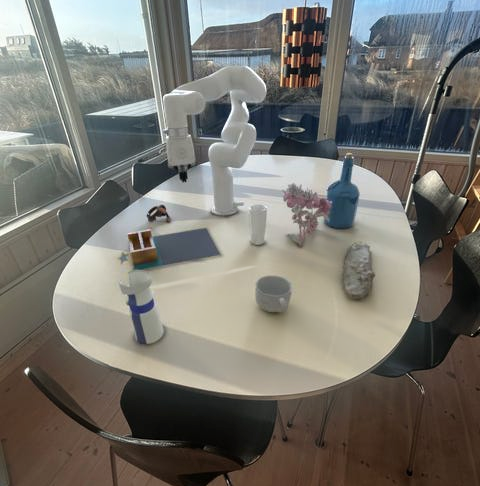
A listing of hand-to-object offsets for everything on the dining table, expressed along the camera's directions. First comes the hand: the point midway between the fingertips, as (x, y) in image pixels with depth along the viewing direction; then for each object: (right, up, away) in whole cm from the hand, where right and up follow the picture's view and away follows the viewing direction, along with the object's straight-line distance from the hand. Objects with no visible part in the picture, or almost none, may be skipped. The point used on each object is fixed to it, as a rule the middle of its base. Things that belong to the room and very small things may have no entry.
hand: (183, 181), depth 129 cm
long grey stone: (+64, -36, -16) cm, 75 cm away
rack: (-15, -29, -3) cm, 33 cm away
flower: (+50, -20, +8) cm, 54 cm away
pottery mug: (-15, -13, +22) cm, 29 cm away
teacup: (+33, -48, -31) cm, 66 cm away
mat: (-4, -27, 0) cm, 27 cm away
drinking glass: (+30, -24, +3) cm, 38 cm away
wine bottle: (+66, -14, +16) cm, 70 cm away
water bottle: (-3, -54, -39) cm, 66 cm away
